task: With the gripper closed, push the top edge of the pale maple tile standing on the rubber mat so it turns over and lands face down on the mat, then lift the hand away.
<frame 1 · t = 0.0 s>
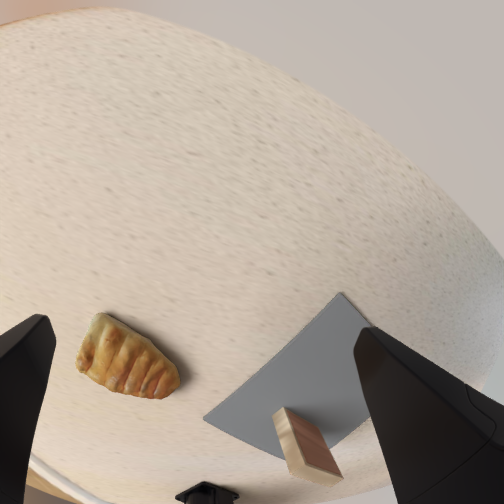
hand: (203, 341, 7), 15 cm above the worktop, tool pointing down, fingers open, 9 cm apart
tile: (296, 422, 27), resting on mat
mat: (319, 399, 27), on the worktop
pastry: (126, 351, 24), on the worktop
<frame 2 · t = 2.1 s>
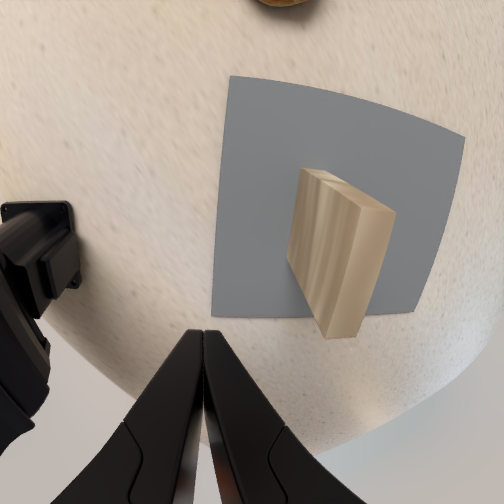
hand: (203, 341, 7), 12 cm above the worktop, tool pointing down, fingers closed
tile: (305, 215, 18), resting on mat
mat: (351, 218, 19), on the worktop
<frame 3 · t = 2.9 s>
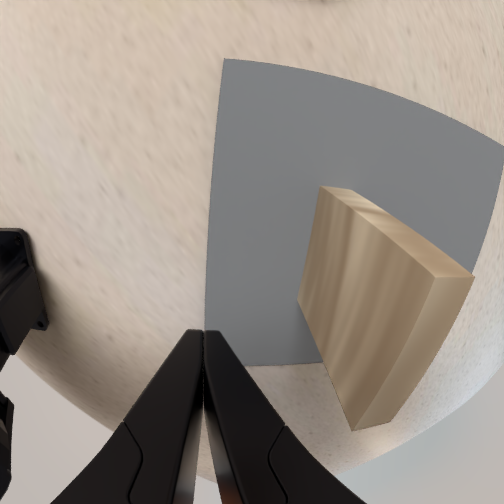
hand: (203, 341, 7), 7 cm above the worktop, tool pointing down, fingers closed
tile: (323, 247, 14), resting on mat
mat: (379, 248, 15), on the worktop
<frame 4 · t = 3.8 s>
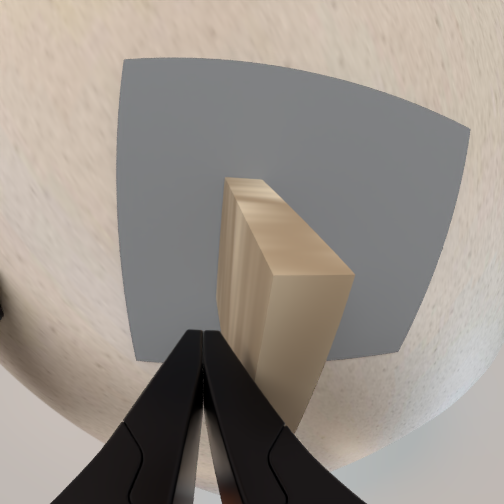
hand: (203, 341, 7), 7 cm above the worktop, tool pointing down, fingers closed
tile: (237, 243, 13), resting on mat, touching gripper
mat: (307, 243, 14), on the worktop
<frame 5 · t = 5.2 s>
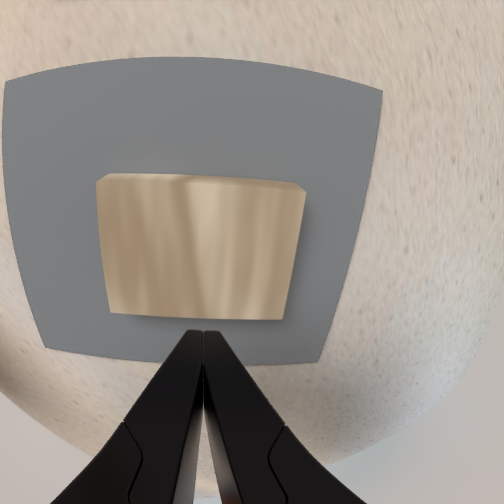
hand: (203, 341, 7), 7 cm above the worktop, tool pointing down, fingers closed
tile: (107, 245, 12), point 1 cm above the worktop, tilted 90°, touching mat
mat: (168, 236, 13), on the worktop
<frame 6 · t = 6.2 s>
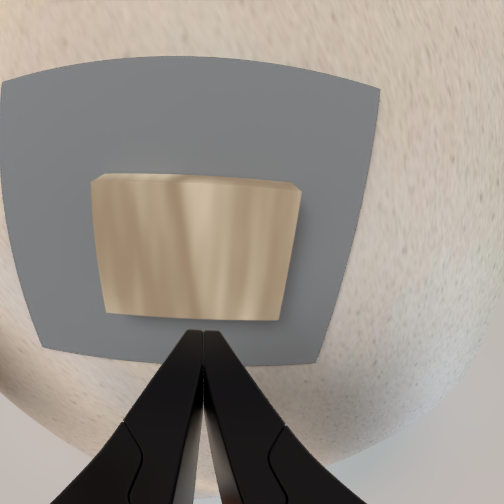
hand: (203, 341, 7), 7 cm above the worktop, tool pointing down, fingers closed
tile: (102, 245, 12), point 1 cm above the worktop, tilted 90°, touching mat
mat: (164, 236, 13), on the worktop
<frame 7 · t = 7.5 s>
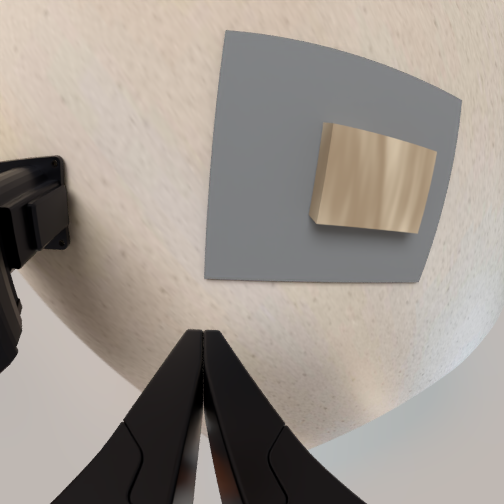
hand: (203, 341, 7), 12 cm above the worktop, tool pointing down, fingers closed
tile: (320, 171, 17), point 1 cm above the worktop, tilted 90°, touching mat
mat: (350, 173, 18), on the worktop
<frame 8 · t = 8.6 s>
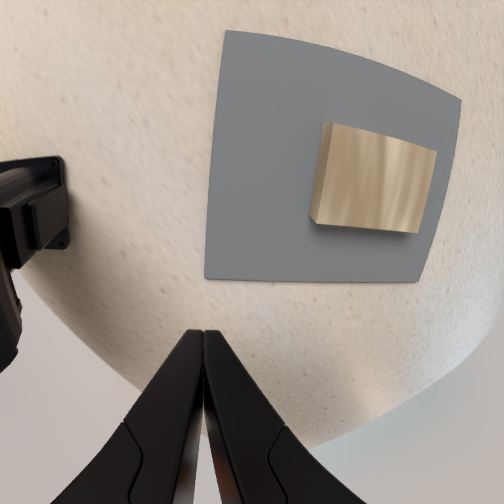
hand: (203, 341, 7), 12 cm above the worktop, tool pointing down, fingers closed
tile: (320, 171, 17), point 1 cm above the worktop, tilted 90°, touching mat
mat: (350, 173, 18), on the worktop
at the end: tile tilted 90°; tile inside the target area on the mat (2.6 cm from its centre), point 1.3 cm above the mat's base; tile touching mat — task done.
